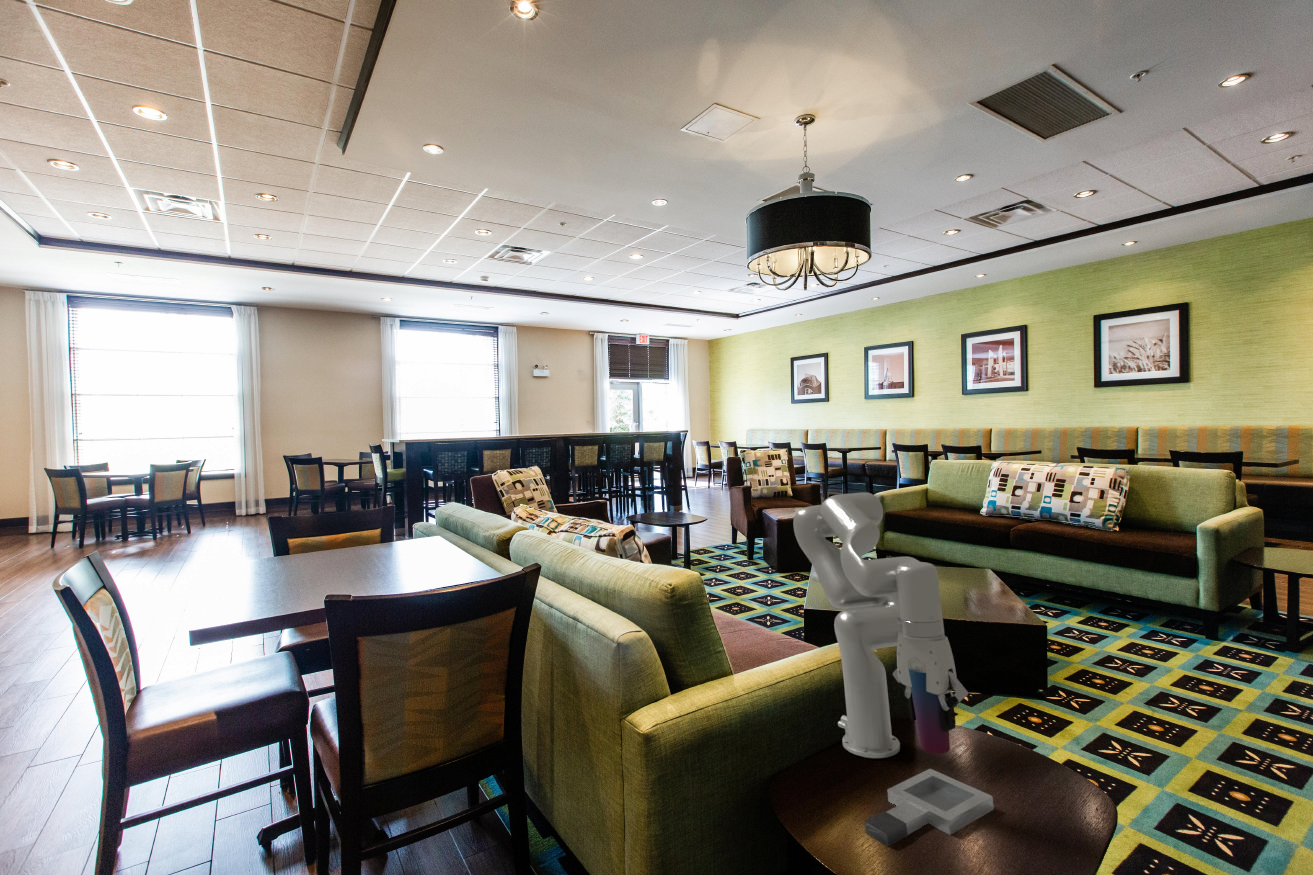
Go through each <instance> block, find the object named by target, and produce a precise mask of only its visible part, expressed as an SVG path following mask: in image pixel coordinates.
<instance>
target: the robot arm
mask: <svg viewBox="0 0 1313 875" xmlns="http://www.w3.org/2000/svg"><path fill="white" fill-rule="evenodd" d="M883 517H884V508H883V505H882V503H881V500H879V498H878V497H877V496H876V495H874V494H872V493H870V492H866V491H865V492H854V493H840V494H835V495H832V496H829V497H827V498H826V499H825V500H824V501H823V502H822V504H817V505H809V506H806V507H803V508H801V509H799V510H797V512H796V513H795V515H794V516H793V526H792V527H793V532H794V536H795V538H796V541H797V543H798V546H799V548H800V549H801V550H802V551H803V553H804V554H805V557H806V558H807V559H808V561H809V562H810V563H811V564H812V567H813V569H814V572H815V573H816V577H817V578H818V580H819V583H820V585H821V587H822V589H823V592H824V595H825V596H826V599H827V600H828V602H829V604H830V605H831V606H832V607H833V608H836V609H838V610H842V611H840V612H839V613H837V615H836V616H835V617H834V624H833V626H834V633H835V637H836V640H837V644H838V648H839V652H840V660H841V667H842V677H843V678H842V679H843V685H844V686H843V687H844V698H845V708H846V709H845V710H846V715H845V714H843V715H842V716H841V717H840V720H839V721H838V722H837V726H838V727H839V728H842V729H844V731H845V734H844V735H843V737H842V746H843V749H845V750H846V751H848V752H849V753H851V754H853V755H856V756H859V757H861V758H862V757H863V758H868V759H884V758H885V759H886V758H889V757H890V758H891V757H892V756H895V755H897V754H898V753H899V752H900V749H901V743H900V741H899V739H898V738H897V737H896V736H894V735H892V725H891V724H892V723H891V715H890V714H891V713H890V703H889V693H888V684H887V683H888V682H887V674H886V668H885V666H884V664H883V662H882V661H881V660H880V659H879V658H878V656H876V655H875V653H874V651H875V650H877V649H883V648H884V649H885V648H889V647H896V667H897V668H896V669H895V670H894V671H893V672H892V677H894V679H895V680H896V682H897V683H899V686H900V687H901V689H902V691H903V692H904V696H905V697H906V698H907V699H908V707H909V708H908V709H909V715H910V716H909V717H910V720H911V721H916V715H915V709H914V703H913V697H912V691H911V687H912V685H911V680H910V675H909V669H908V668H910V669H912V670H914V671H918V672H924V673H926V691H927V692H929V693H931V694H934V695H938V698H939V701H940V703H941V706H942V709H940V718H941V727H942V730H943V731H944V732H947V731H949V732H950V731H952V730H953V729H956V724H957V723H956V715H955V714H956V713H955V707H957V706H958V704H959V703H961V702H962V701H963V700H964V699H965V698H966V697H968V695H969V692H968V690H967V689H966V688H965V687H964V686H963V684H962V683H961V682H960V681H959V679H958V678H957V672H956V666H955V659H954V655H953V652H952V648H951V644H950V641H949V639H948V637H947V636H946V635H945V626H944V617H943V611H942V610H943V609H942V602H941V594H940V593H941V591H940V583H939V576H938V575H939V574H938V573H939V572H938V569H937V568H936V566H935V565H934V564H932V563H929V562H923V561H920V560H918V559H916V558H914V557H911V556H895V557H886V558H877V559H876V558H874V559H873V558H872V559H864V558H863V556H865V555H866V554H867V553H868V554H869V552H871V551H872V550H873V549H874V548H875V547H876V546H877V544H878V542H879V540H880V533H881V532H880V528H879V527H878V525H879V524H880V523H881V522H882V520H883ZM828 537H829V538H830V537H837V538H838V539H839V541H841V543H842V546H841V549H840V547H838V546H837V545H836V544H834V543H833V542H831V541H830V540H827V539H826V538H828ZM953 691H954V692H955V693H954V694H953ZM944 694H946V697H947V699H948V700H946V697H945V695H944Z"/></svg>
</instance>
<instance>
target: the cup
mask: <svg viewBox="0 0 1313 875" xmlns="http://www.w3.org/2000/svg"><path fill="white" fill-rule="evenodd" d="M908 669H909V675H910V680H911V685H912V687H911V691H912V697H913V703H914V709H915V715H916V720H915V721H916V725H917V731H918V732H917V733H918V738H919V742H920V743H919V744H920V748H921V749H922V750H923V751H925V752H927V753H930V754H938V755H942V754H946V753H949V751H950V749H951V748H950V731H947V732H944V731H943V730H942V727H941V718H940V709H942V706H941V703H940V701H939V698H938V695H934V694H931V693H929V692H927V691H926V673H924V672H918V671H914V670H912V669H910V668H908ZM944 695H945V697H946V694H944ZM946 700H948V699H947V697H946Z"/></svg>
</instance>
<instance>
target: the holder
mask: <svg viewBox="0 0 1313 875" xmlns="http://www.w3.org/2000/svg"><path fill="white" fill-rule="evenodd" d="M887 800H888V803H889V802H890V803H889V804H891V803H892V804H891V805H893V804H895V805H896V806H895V805H894V807H892V808H891V809H889V810H886V811H885V810H882V811H881V812H879V813H877V814H875V815H873V816H871V817H869V818H867V819H865V820H864V823H865V825H864V827H865V833H866V835H868V836H870V837H872V838H873V839H874V840H877V841H878V842H879V843H881V844H883V845H884V846H886V847H891V846H893V845H895V843H896V844H897V842H898V843H899V841H902V840H903V839H904V838H907V837H908V836H909V835H910V834H912V833H914V832H915V831H917V830H919V829H921V828H922V826H923V827H925V826H926V825H928V823H929V825H930V824H931V826H933V827H934V828H936V829H938V830H940V831H941V832H944V833H945V834H948V835H949V836H951V835H953V834H954V833H957V832H958V831H959V830H961V829H964V828H965V827H966V825H967V826H968V825H970V824H972V823H973V822H975V821H977V820H978V819H981V818H982V817H983V816H985V815H987V814H989V813H990V812H992V811H994V810H995V808H994V799H993V795H991V794H988V793H986V792H984V791H982V790H980V789H978V788H975V787H973V786H971V785H968V784H966V783H964V782H961V781H959V780H956V779H955V778H952V777H950V776H948V775H947V774H946V775H945V774H944V773H941V772H939V771H936V770H934V769H932V768H929V769H926V770H924V771H923V772H921V773H918V774H916V775H914V776H912V777H910V778H907V779H906V780H904V781H902V782H900V783H898V784H896V785H893V786H892V787H889V788H887ZM924 825H925V826H924Z"/></svg>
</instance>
